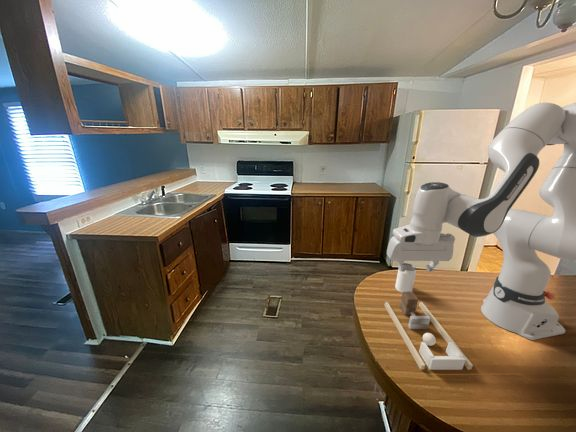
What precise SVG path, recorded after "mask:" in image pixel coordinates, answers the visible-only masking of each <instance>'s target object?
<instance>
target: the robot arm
mask: <svg viewBox="0 0 576 432" xmlns="http://www.w3.org/2000/svg"><path fill="white" fill-rule="evenodd" d="M554 145H563V151H562V155H561V156H560V157H559V158H558V159H557V161H556V162H555V164H554V165H553V167H552V168H551V170H550V172H549V173H548V175H547V176H546V178H545V180H544V182H543V183H542V185H541V187H540V188H539V190H538V193H539V196H540V198H541V199H542V200H543V201H544V202H545V203H546V204H548V205H550V206H551V207H552V208H554V210H553V213H552V215H545V214H542V213H537V212H534V211H527V210H525V209H524V210H523V209H516V208H515V209H513V208H512V207H513V206H514V205H515V203H516V201H518V199H519V198H520V196H521V195H522V194H523V192H524V191H525V189H526V188H527V187H528V185H529V184H530V182H531V181H532V179H533V178H534V177H535V175H536V173H537V171H538V169H539V167H540V159H539V156H538V155H539V153H540V152H541V151H542V150H543V149H544V147H546V146H554ZM487 154H488V155H487V156H488V158H489V160H490V161H491V163H492V164H493V165H494V166H495V167H497V168H498V169H499V170H500V171H502V172H504V175H502V176H503V177H502V178H501V179H500V181H499V182H498V183H497V185H496V186H495V187H494V189H493V190H492V192H491V193H490V194H489V195H488V196H487V197H484V198H476V197H473V196H469V195H467V194H463V193H460V192H458V191H457V190H456V191H455V190H454V189H452V188H451V187H450V185H449V184H447V183H445V182H440V181H437V182H435V181H434V182H433V181H432V182H431V181H430V182H427V183H424V184H422V185H420V187H419V188H418V190H417V192H416V195H415V198H414V201H413V204H412V217H411V219H410V222H409V224H406V225H403V226H399V227H396V228H393V230H392V235H393V236H392V237H391V238H390V239H389V241H388V245H387V249H386V255H387V257H388V258H389V260H391V261H393V262H394V261H395V262H397V264H398V269H399V271H400V272H401V271H402V272H404V271H405V269H406V267H405V266H404V265H402V263H405V262H430V263H429V264H426V267H425V270H426V272H428V273H429V272H430V273H433V272H434V268H436V266H438V265H439V263H440V262H449V261H451V260H452V259H453V256H454V244H455V240H456V238H455V236H454V235H453V234H452V233H441V232H442V230H443V225H444V224H445V223H448V224H449V225H452V226H454V227H456V228H458V229H460V230H462V231H463V232H465V233H466V234H468V235H470V236H472V237H475V238H476V237H477V238H481V237H486V236H489V235H492V234H493V235H494V236H495V237H496V239H497V240H498V242H499V245H500V247H501V249H502V254H503V257H502V258H503V260H502V265H501V268H500V271H499V274H498V276H497V277H496V278H495V280H494V282H493V286H492V287H491V289H490V291H489V292H488V294H487V297H484V298H483V300H482V303H483V304H482V305H481V307H480V311H481V313H482V314H483V316H484V317H485V318H486V319H487V320H489V321H490V322H491V323H492V324H494V325H496V326H498V327H500V328H502V329H504V330H506V331H509V332H512V333H515V334H518V335H520V336H522V337H523V338H525V339H527V340H531V341H535V340H540V339H545V338H549V337H553V336H554V337H555V336H559V335H563V334H565V333H566V329H565V328H564V327H563V325H562V324H560V323H559V318H560V315H559V313H558V312H557V310H556V309H555V308H554V307H553V306H552V305H550V303H548V302H547V301H546V298H547V299H548V300H554V299H555V298H556V295H555V294H553V293H552V292H550V291H549V290H547V291H545V290H546V287H547V285H548V283H549V281H550V279H551V276H552V272H551V269H550V267H549V266H548V264H546V263H545V262H544V261H543V260H542V259H541V257H540V256H538V254H537V251H538V252H540V253H543V254H546V255H548V256H552V257H555V258H558V259H561V260H565V261H570V262H574V263H575V262H576V102H573V103H570V104H567V105H564V106H561V105H559V104H556V103H554V102H553V103H552V102H540V103H536V104H533V105H531V106H529V107H527V108H526V109H525V110H523V111H522V112H520V113H519V114H518V115H517V116H516V117H515V118H513V119H512V120H511V121H510V122H508V124H506V126H504V128H503V129H501V131H500V132H499V133H498V134H497V135H496V136H495V137H494V138H493V139H492V141H491V142H490V143H489V145H488V147H487Z"/></svg>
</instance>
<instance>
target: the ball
mask: <svg viewBox="0 0 576 432" xmlns="http://www.w3.org/2000/svg"><path fill="white" fill-rule="evenodd" d="M422 342H425V343H426V345H427V346H434V345H435V344H436V343H437V340H436V337H435V336H434V334H432V333H431V332H425V333H423V335H422Z"/></svg>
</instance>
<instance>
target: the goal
mask: <svg viewBox="0 0 576 432" xmlns="http://www.w3.org/2000/svg"><path fill="white" fill-rule="evenodd" d="M428 346H429V345H427V344H426V343H425V342H424V341H420V346H419V350H418V354H419V355H420V357H421V359H422V361H423V362H424V364H425V365H426V366H427V368H428V370H429V371H430V370H431V371H433V370H434V371H435V370H436V371H437V370H441V371H442V370H444V371H445V370H447V371H448V370H449V371H450V370H454V371H455V370H457V371H459V370H461V371H462V370H463V369H464V367H465V365H464V363H465V360H466V359H465V358H464V356H463V355H462V354H461V353H460V351H459V350H458V349H457V348H456V346H455V345H454V344H453V342H449V343H447V346H446V349H445V353H446V354H447V355H434V354H433V352H432V350H431V349H430V348H429V347H428Z"/></svg>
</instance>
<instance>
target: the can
mask: <svg viewBox="0 0 576 432" xmlns="http://www.w3.org/2000/svg"><path fill="white" fill-rule="evenodd" d="M402 265H404V266H405V267H406V269H405V271H404V272H402V271H401V272H400V271H399V269H398V270H397V275H396V280H395V285H394V287H395V288H394V289H396V290H397V291H398V292H399V293H401V294H402V293H403V292H413V289H414V284H415V280H416V275H417V269H416V266H415V265H413V264H411V263H406V262H404V263H402Z"/></svg>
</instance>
